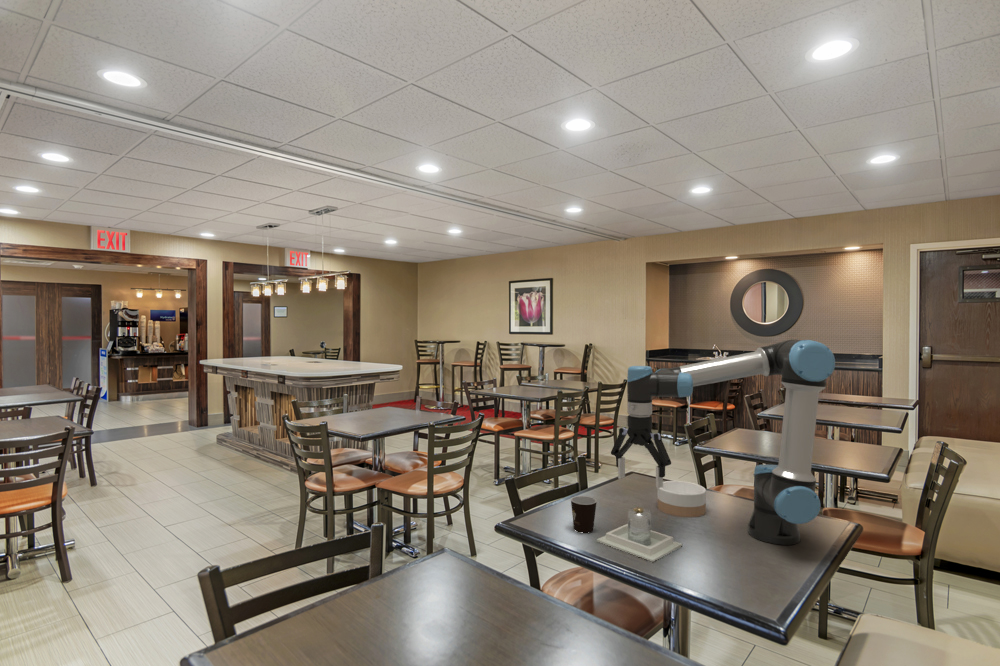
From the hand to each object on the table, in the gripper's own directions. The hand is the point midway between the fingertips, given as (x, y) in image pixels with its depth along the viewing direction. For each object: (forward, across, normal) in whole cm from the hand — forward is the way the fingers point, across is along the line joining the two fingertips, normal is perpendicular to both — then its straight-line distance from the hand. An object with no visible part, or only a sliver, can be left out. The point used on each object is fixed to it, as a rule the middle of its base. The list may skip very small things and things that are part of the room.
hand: (639, 482), depth 163 cm
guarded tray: (+19, 0, 0) cm, 19 cm away
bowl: (+20, -7, +39) cm, 45 cm away
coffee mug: (+20, -20, -3) cm, 28 cm away
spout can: (+19, 0, 0) cm, 19 cm away
